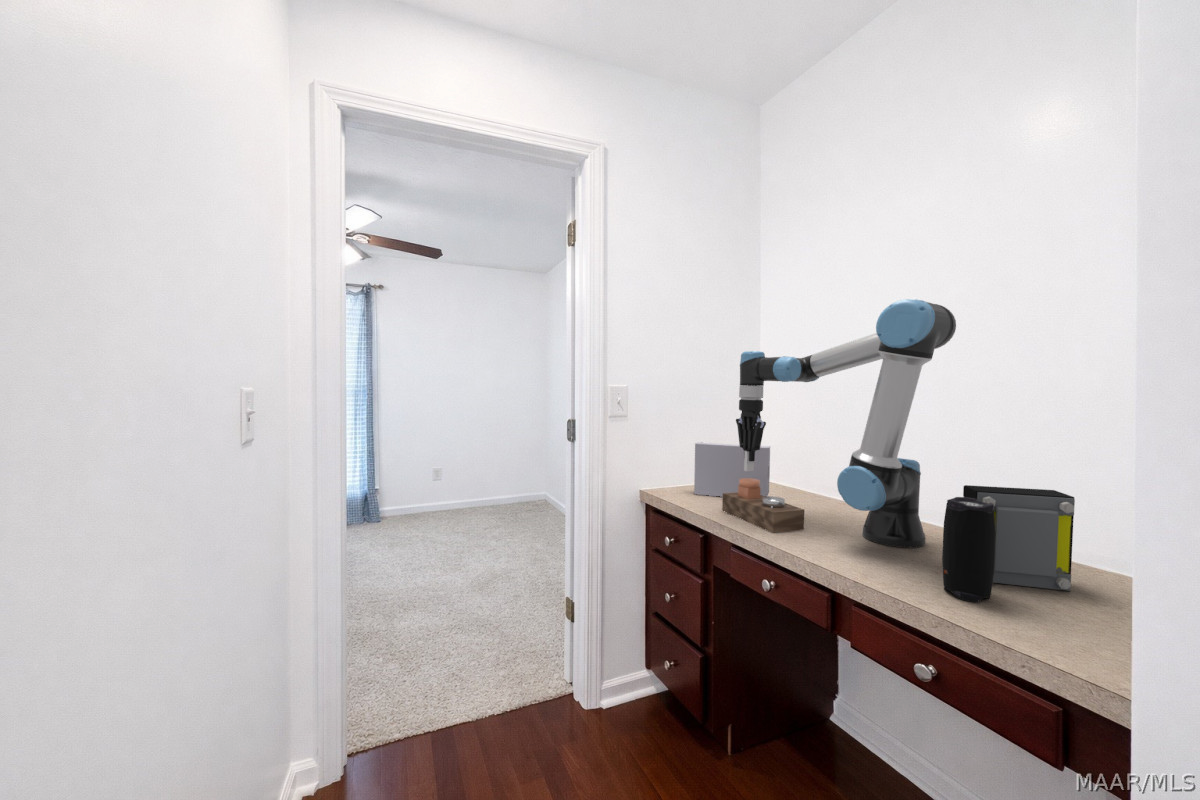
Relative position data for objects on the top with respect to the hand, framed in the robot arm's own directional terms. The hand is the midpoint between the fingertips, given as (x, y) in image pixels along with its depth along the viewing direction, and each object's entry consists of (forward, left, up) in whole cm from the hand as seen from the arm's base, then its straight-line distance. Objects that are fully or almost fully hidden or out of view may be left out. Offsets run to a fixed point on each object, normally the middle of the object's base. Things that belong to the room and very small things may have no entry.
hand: (748, 470), depth 162 cm
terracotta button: (0, 0, -9) cm, 9 cm away
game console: (+24, -10, -15) cm, 30 cm away
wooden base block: (-6, 0, -15) cm, 16 cm away
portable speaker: (-66, -5, -15) cm, 68 cm away
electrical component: (-64, -23, -15) cm, 70 cm away
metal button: (-12, 0, -12) cm, 17 cm away
